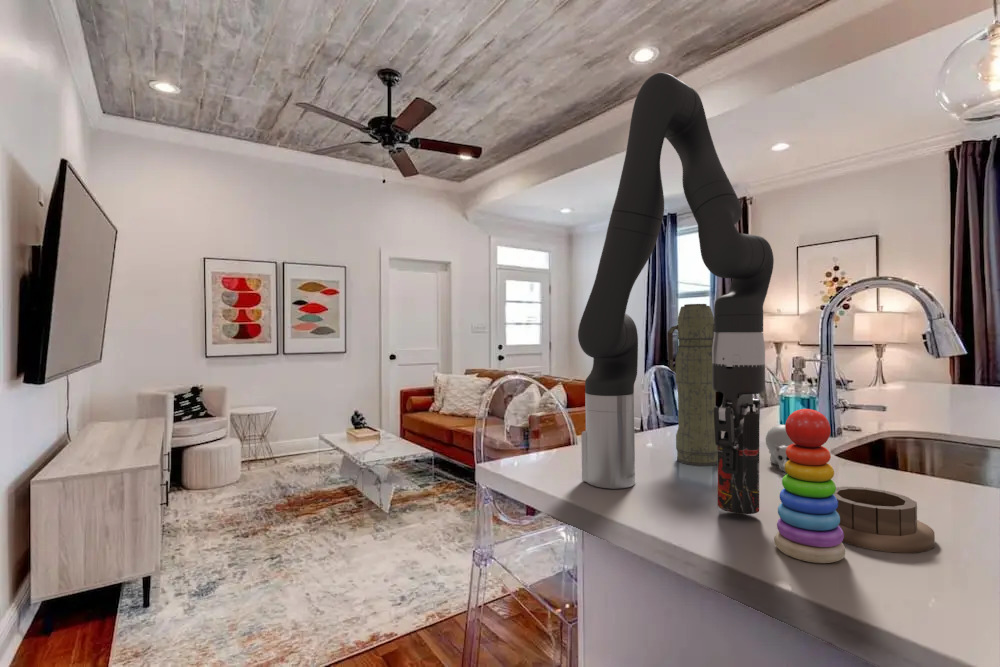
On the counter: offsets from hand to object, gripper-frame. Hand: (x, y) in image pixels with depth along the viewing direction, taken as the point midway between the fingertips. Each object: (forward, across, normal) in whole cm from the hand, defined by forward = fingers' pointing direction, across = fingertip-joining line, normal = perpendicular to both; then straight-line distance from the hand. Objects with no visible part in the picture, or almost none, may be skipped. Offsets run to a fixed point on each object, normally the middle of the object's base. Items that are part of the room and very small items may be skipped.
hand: (738, 468), depth 81 cm
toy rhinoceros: (+8, -37, -3) cm, 38 cm away
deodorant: (+6, 0, 0) cm, 6 cm away
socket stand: (+7, -5, +16) cm, 19 cm away
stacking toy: (+8, +8, +12) cm, 16 cm away
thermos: (+8, -30, -19) cm, 36 cm away
